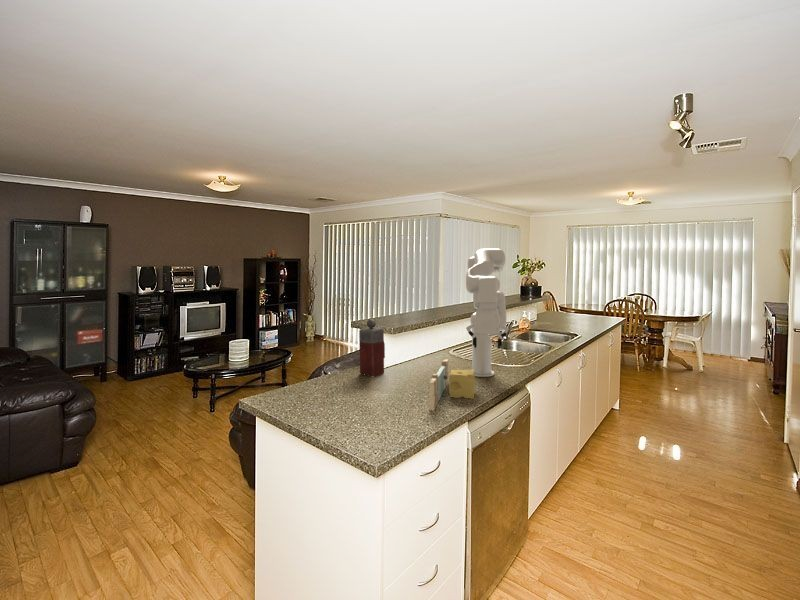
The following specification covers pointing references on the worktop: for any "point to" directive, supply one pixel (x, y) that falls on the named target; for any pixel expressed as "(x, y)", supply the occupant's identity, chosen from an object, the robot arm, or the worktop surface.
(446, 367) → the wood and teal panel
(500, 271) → the robot arm
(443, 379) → the door
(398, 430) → the worktop surface
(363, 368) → the red canister
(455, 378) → the cheese
